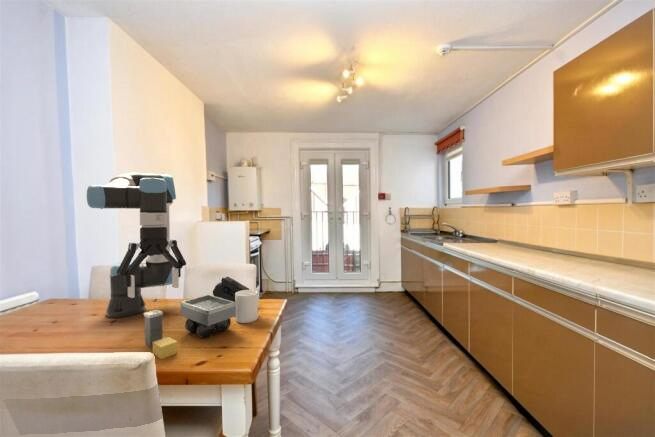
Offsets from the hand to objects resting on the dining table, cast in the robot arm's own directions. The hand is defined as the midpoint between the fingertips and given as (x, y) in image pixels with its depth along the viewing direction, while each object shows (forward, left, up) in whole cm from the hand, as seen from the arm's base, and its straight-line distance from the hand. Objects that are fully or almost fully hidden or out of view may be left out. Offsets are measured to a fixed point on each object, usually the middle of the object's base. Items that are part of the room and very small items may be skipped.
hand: (154, 292), depth 93 cm
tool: (-20, +45, -21) cm, 54 cm away
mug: (-1, +39, -21) cm, 44 cm away
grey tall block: (-10, +4, -21) cm, 24 cm away
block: (+1, +3, -21) cm, 21 cm away
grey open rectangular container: (-3, +21, -21) cm, 30 cm away
